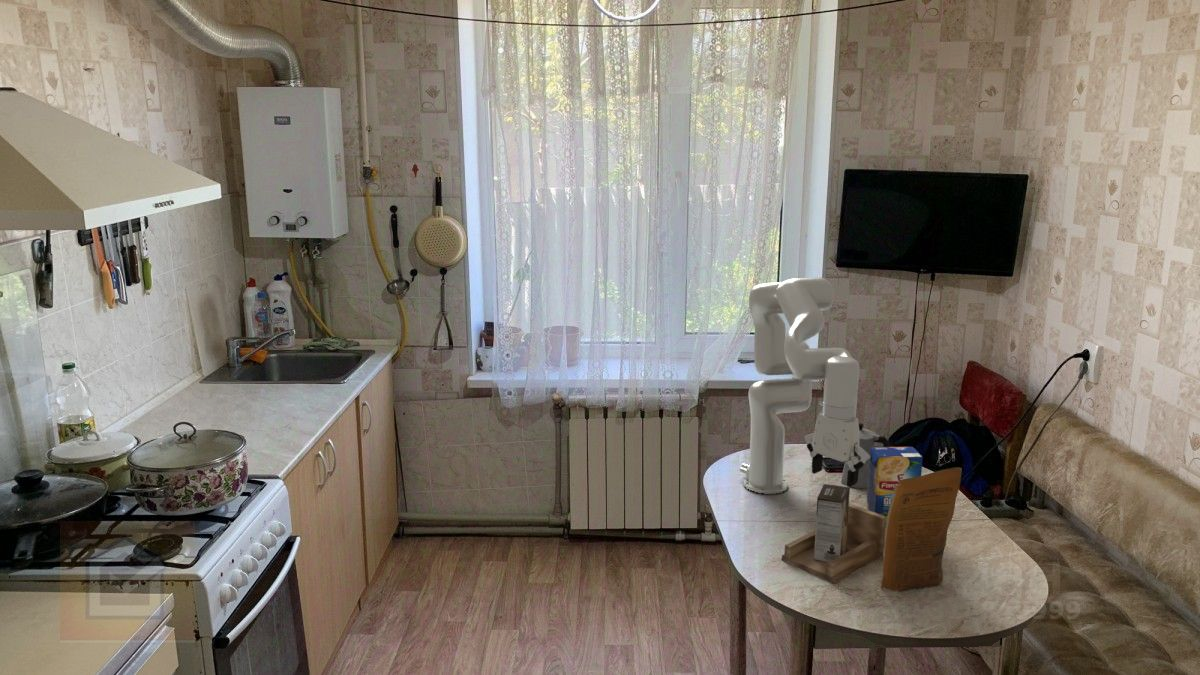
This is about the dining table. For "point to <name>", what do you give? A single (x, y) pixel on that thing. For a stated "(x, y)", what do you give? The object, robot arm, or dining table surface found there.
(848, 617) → the dining table surface
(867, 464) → the coffeepot
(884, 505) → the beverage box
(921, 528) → the pancake mix bag
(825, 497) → the coffee box
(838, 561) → the wooden tray
